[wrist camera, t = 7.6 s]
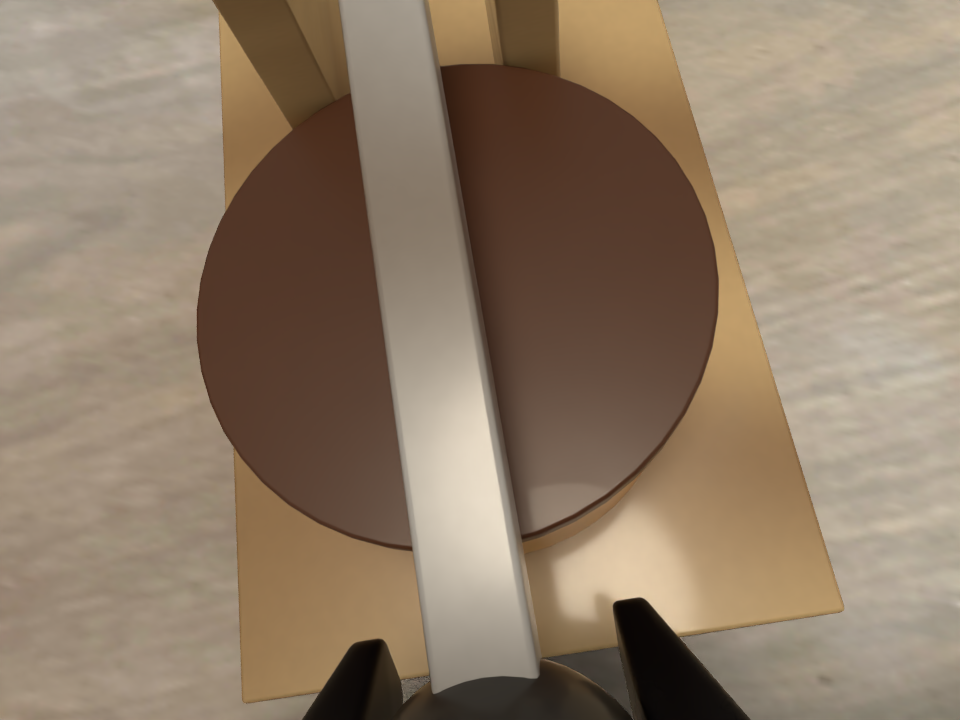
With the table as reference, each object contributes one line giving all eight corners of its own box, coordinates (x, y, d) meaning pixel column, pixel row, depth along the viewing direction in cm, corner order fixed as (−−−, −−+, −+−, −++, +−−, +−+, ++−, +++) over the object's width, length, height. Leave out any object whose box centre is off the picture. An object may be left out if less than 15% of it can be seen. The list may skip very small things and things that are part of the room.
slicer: (825, 609, 14) (1474, 671, 4) (265, 696, 15) (-387, 928, 5) (589, -182, 22) (600, -844, 12) (230, -94, 23) (-46, -639, 13)
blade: (682, 903, 8) (759, 1148, 5) (413, 935, 8) (323, 1192, 5) (465, -169, 12) (430, -413, 9) (286, -125, 12) (190, -348, 9)
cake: (545, 647, 13) (529, 681, 9) (238, 431, 16) (94, 365, 11) (742, 311, 15) (819, 185, 10) (437, 158, 17) (387, -2, 13)
